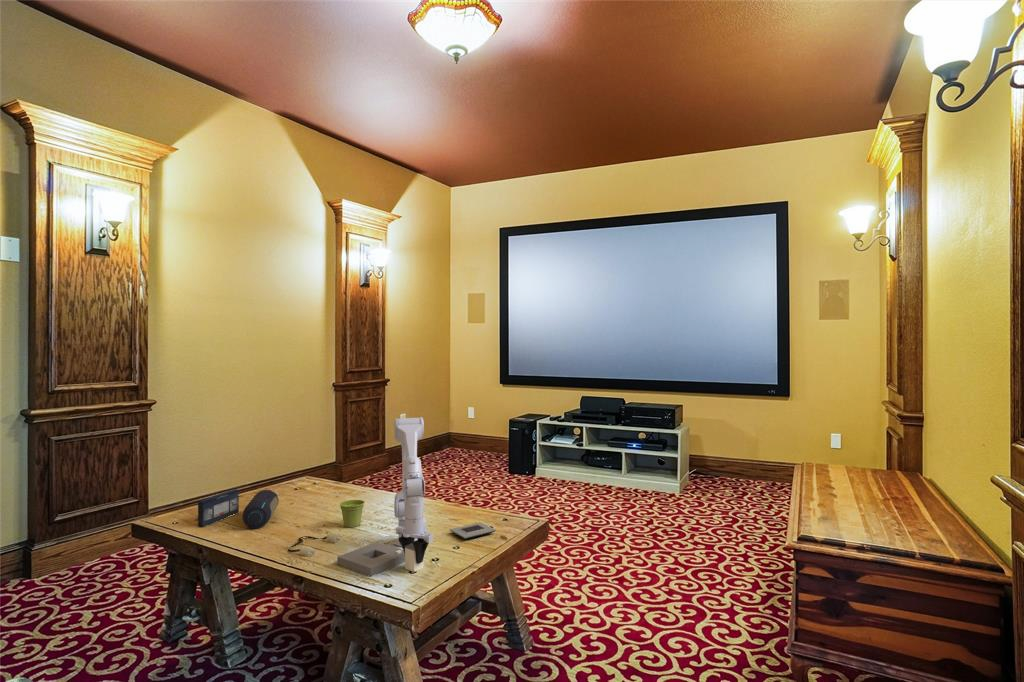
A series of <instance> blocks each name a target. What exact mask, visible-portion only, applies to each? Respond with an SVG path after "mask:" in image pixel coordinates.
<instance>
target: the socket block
mask: <svg viewBox="0 0 1024 682" xmlns="http://www.w3.org/2000/svg"><path fill="white" fill-rule="evenodd" d="M374 557H375V558H374ZM336 560H337V565H338V564H339V565H338V566H340V565H342V566H341V567H343V566H345V567H344V568H346V567H347V568H346V569H349V568H350V569H349V570H351V569H353V570H352V571H354V570H356V571H355V572H357V571H358V572H357V573H360V574H362V573H363V575H365V574H366V576H368V575H369V577H373V575H374V576H375V574H376V575H378V574H380V572H381V573H382V572H385V571H387V570H390V569H392V568H394V567H397V566H399V565H401V564H403V563H404V564H405V554H404V550H403V548H399V547H396V546H392V545H388V544H387V543H383V542H379V541H375V542H373V543H369V544H367V545H364V546H361V547H359V548H356V549H354V550H351V551H348V552H346V553H343V554H340V555H338V556H337V559H336Z"/></svg>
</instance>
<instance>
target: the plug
mask: <svg viewBox="0 0 1024 682" xmlns="http://www.w3.org/2000/svg"><path fill="white" fill-rule="evenodd" d="M424 558H425V557H424ZM424 558H423V562H421V563H419V564H417V563H416V554H415V548H414V545H413V543H411V544H409V545H406V546H405V562H404V569H405V570H408V571H410V572H413V571H414V572H413V573H415V572H417V571H419V570H421V569H423V568H424V564H425V563H424V562H425V561H424Z"/></svg>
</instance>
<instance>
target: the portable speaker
mask: <svg viewBox="0 0 1024 682" xmlns="http://www.w3.org/2000/svg"><path fill="white" fill-rule="evenodd" d="M278 506H279V497H278V495H277V494H276V492H275V491H273V490H271V489H263V490H260V491H258V492H257V493H255V495H254V496H253V497H252V498H251V500H250V501H249V502H248V503H247V505H246V506H245V507H244V509H243V512H242V517H241V518H242V522H243V524H244V525H245V526H247V527H248V528H251V529H259V528H261V527H264V526H265V525H267V524H268V522H269V521H270V519H271V518H272V516H273V514H274V513H275V511H276V510H277V507H278Z"/></svg>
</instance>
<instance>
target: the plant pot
mask: <svg viewBox="0 0 1024 682" xmlns="http://www.w3.org/2000/svg"><path fill="white" fill-rule="evenodd" d="M365 502H366V501H365V500H362V499H348V500H343V501H341V502H340V503H338V504H339V506H340V510H341V514H342V520H343V526H346V527H345V528H348V527H353V528H356V527H355V526H357V527H358V526H359V525H360V524H362V516H363V508H364V506H365ZM360 526H361V525H360ZM360 526H359V527H360Z"/></svg>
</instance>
